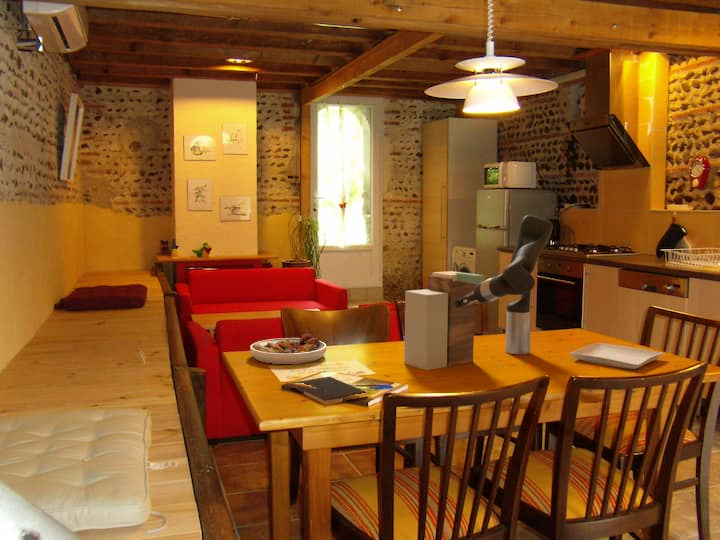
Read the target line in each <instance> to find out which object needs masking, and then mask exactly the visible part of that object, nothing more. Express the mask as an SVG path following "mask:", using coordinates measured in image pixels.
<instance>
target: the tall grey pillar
mask: <svg viewBox="0 0 720 540" xmlns="http://www.w3.org/2000/svg"><path fill="white" fill-rule="evenodd" d="M404 297H405V298H404V299H405V300H404V303H405V304H404V364H405V365H409V366H410V367H411V366H412V367H415V368H418V369H421V370H425V371H430V370H435V369H442V368H447V325H448V293H445V292H439V291H433V290H428V288H427V289H425V288H424V289H413V290H412V289H411V290H405V291H404Z"/></svg>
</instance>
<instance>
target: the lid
mask: <svg viewBox="0 0 720 540" xmlns="http://www.w3.org/2000/svg"><path fill="white" fill-rule="evenodd" d="M431 274H432V275H431V276H436V277H443V278H450V279H453V282H455V281H459V282H466V283H473V284H475V285H477V284H478V283H480V282H483V281H485V274H477V273H472V272H471V273H470V272H462V271H461V272H460V271H453V270H449V271H448V270H446V271H436V272H435V271H434V272H431Z"/></svg>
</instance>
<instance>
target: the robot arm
mask: <svg viewBox="0 0 720 540" xmlns="http://www.w3.org/2000/svg"><path fill="white" fill-rule="evenodd" d="M553 225H554V224H553V222H552V221H550V220H548V219H546V218H543V217H541V216H537V215H534V214H527V215H525V216H523V218H522V220H521V222H520V224H519V228H518V233H517V238H516V244H515V245H514V246H515V247H514V249H513V252H512V256H511V259H510V263H509V264H508V265H507V266H505V268H504V269H503V271H502V273H500V274H498V275H497V276H494V277H489V278H488V279H484V281H483V282H480V283H478V284H475V288H474V291H473V292H471V293H470V294H468V295H465V296H464V298H462V299H460V300H456V302H455V305H456V307H461V306H464V305H466V304H467V305H469V304H471V303H474V302H475V303H481V304H488V303H491V302H494V301H496V300H498V299H501V298H502V297H504V296H508V295H510V296H521V297H520V298H518V299H517V300H514V301H512V302H510V303H509V302H508V304H506V321H505V322H506V327H505V329H506V330H505V352H506V353H507V354H512V355H527V354H531V339H532V338H531V336H532V333H531V332H532V330H530V313H531V312H530V310H531V293H532V290H533V289H534V287H535V284H536V280H535V278H534V276H532V273H533V272H534V270H535V267H536V264H537V262H538V259H539V257H540V255H541V254H542V252H544V249H545V247H546V246H547V244H548V242H549V240H550V238H551V236H552V233H553V230H554V229H553V228H554V226H553ZM471 294H472V295H471ZM469 295H470V296H469ZM468 296H469V298H468ZM470 300H471V301H472V302H469V301H470ZM474 300H475V301H474ZM475 303H474V304H475Z"/></svg>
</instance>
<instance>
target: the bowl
mask: <svg viewBox="0 0 720 540" xmlns="http://www.w3.org/2000/svg"><path fill="white" fill-rule="evenodd" d="M249 348H250V349H249V351H250V354H251V356H252V357H253V359H256V360H257V361H259V362H262V363H264V362H265V364H269V363H272V364H271V365H279V364H293V365H301V364H300V363H303V364H309V363H312V362H315V361H318V360H320V359H321V358H322V357H324V355H325V354H326V351H327V344H326V343H325V342H322V341H320V340H319V339H318V337H313V336H312V334H310V333H305V334H303V335H302V336H301V338H299V337H290V338H289V337H285V338H284V337H283V338H271V339H270V338H269V339H265V340H264V339H263V340H259V341H257V342H256V341H255V342H254V343H252V344H251V345H250V347H249ZM308 362H309V363H308Z"/></svg>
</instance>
